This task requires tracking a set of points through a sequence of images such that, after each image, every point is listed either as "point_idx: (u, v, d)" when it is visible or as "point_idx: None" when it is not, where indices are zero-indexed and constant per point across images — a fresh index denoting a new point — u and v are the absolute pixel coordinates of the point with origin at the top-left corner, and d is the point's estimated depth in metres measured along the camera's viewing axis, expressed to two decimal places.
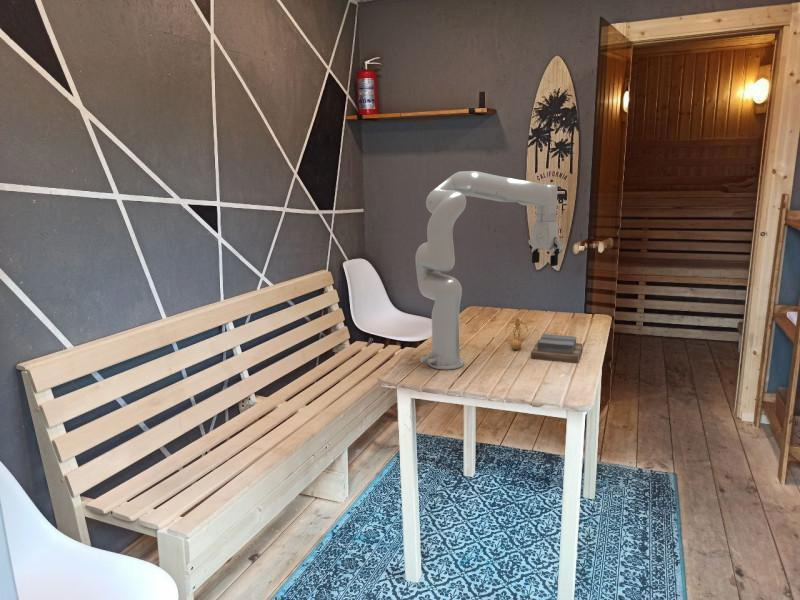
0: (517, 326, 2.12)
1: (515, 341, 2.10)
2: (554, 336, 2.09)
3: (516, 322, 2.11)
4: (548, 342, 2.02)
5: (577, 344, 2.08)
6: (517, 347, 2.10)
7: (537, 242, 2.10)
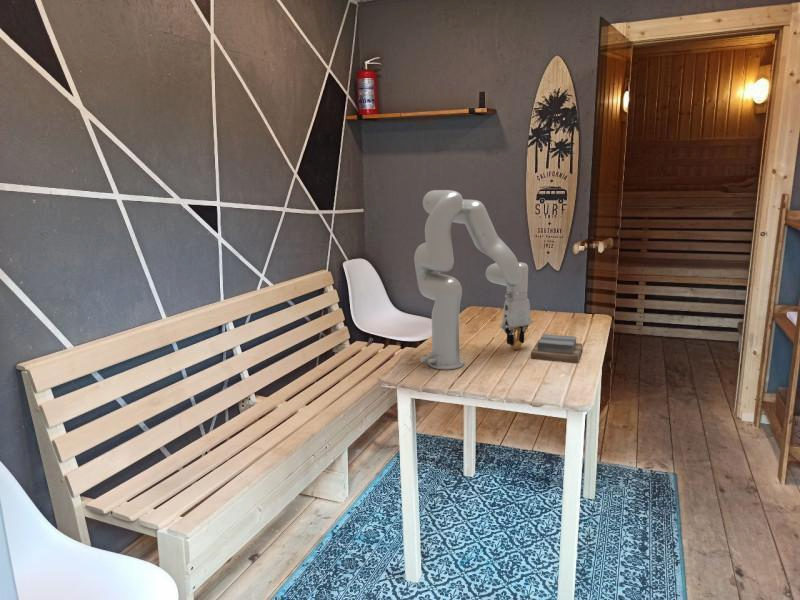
0: None
1: (515, 341, 2.10)
2: (554, 336, 2.09)
3: None
4: (548, 342, 2.02)
5: (577, 344, 2.08)
6: (517, 347, 2.10)
7: (518, 320, 2.07)
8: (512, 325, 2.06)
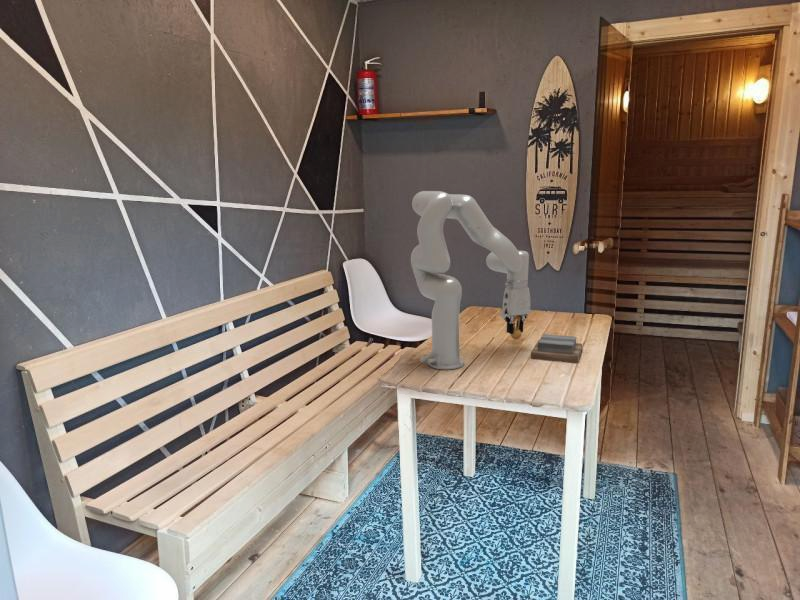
0: None
1: (515, 330, 2.09)
2: (554, 336, 2.09)
3: None
4: (548, 342, 2.02)
5: (577, 344, 2.08)
6: (517, 336, 2.09)
7: (518, 309, 2.06)
8: (512, 313, 2.05)
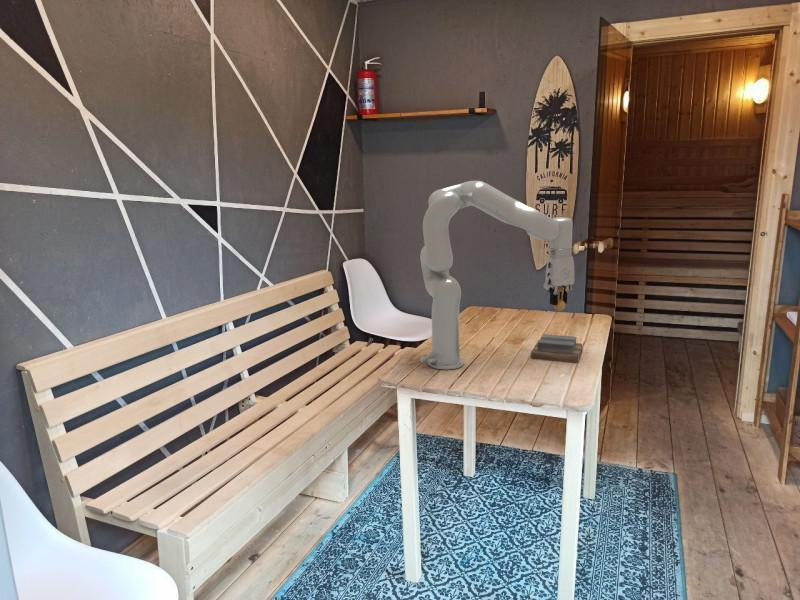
0: None
1: (559, 301, 2.00)
2: (554, 336, 2.09)
3: None
4: (548, 342, 2.02)
5: (577, 344, 2.08)
6: (561, 307, 1.99)
7: (562, 279, 1.97)
8: (556, 284, 1.96)
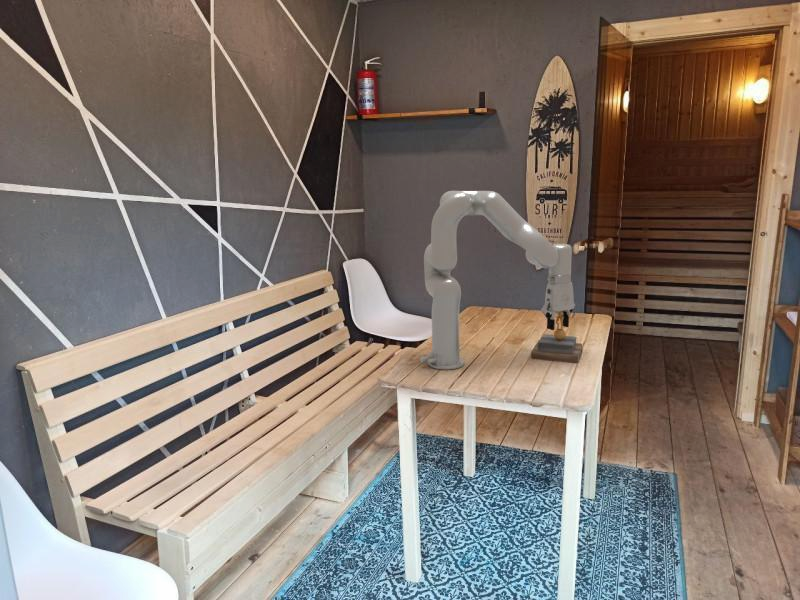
0: (559, 315, 2.04)
1: (558, 330, 2.02)
2: (554, 336, 2.09)
3: None
4: (548, 342, 2.02)
5: (577, 344, 2.08)
6: (560, 336, 2.02)
7: (562, 305, 1.99)
8: (555, 309, 1.98)
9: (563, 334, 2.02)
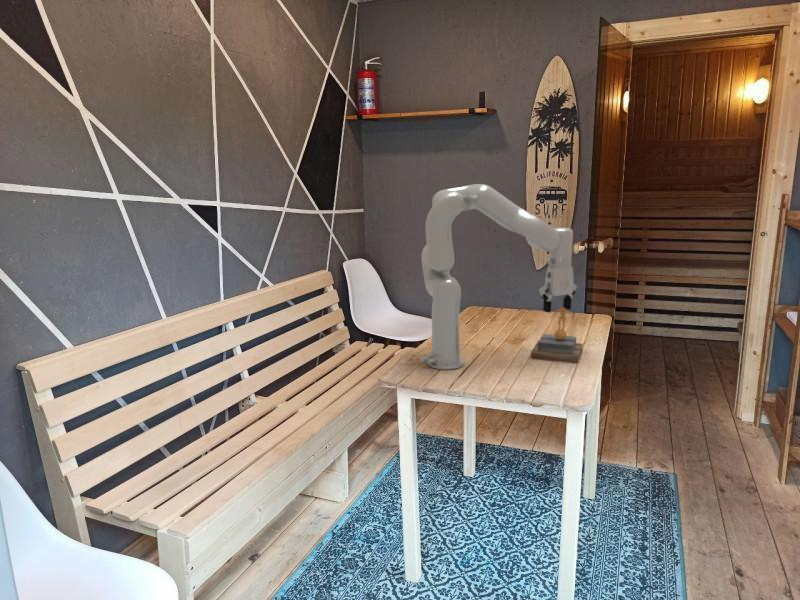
0: (562, 315, 2.03)
1: (559, 331, 2.02)
2: (554, 336, 2.09)
3: (561, 311, 2.03)
4: (548, 342, 2.02)
5: (577, 344, 2.08)
6: (561, 337, 2.02)
7: (561, 289, 1.97)
8: (555, 293, 1.96)
9: (564, 335, 2.02)
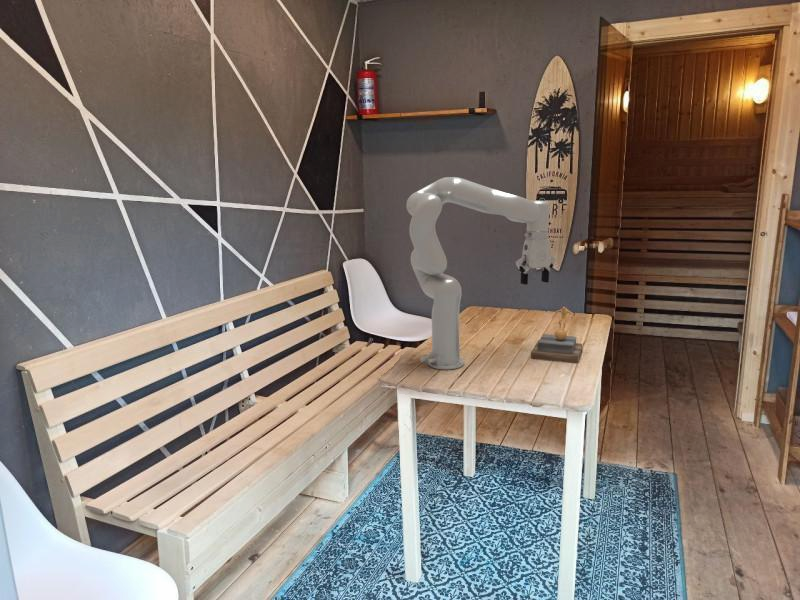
0: (563, 315, 2.04)
1: (559, 330, 2.02)
2: (554, 336, 2.09)
3: (562, 311, 2.04)
4: (548, 342, 2.02)
5: (577, 344, 2.08)
6: (561, 337, 2.02)
7: (538, 261, 2.00)
8: (531, 265, 1.99)
9: (564, 335, 2.02)
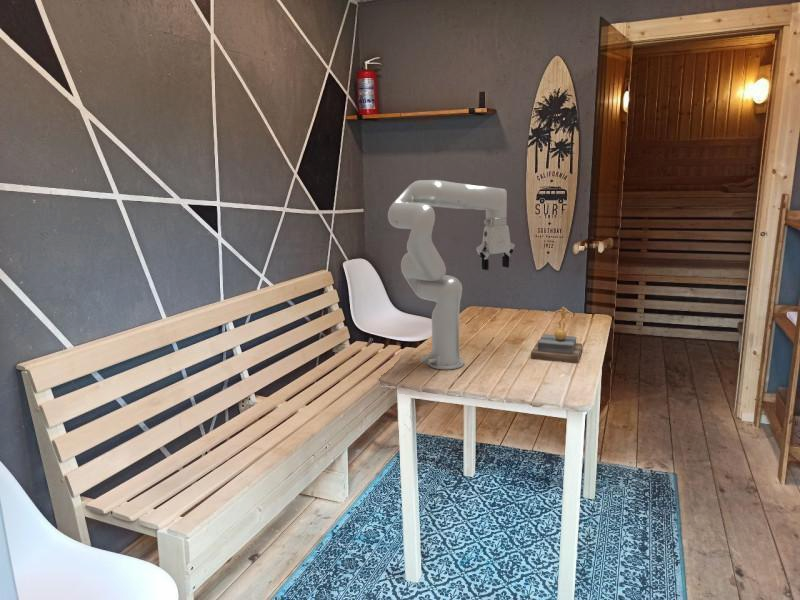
0: (563, 315, 2.03)
1: (559, 331, 2.02)
2: (554, 336, 2.09)
3: (562, 311, 2.03)
4: (548, 342, 2.02)
5: (577, 344, 2.08)
6: (561, 337, 2.02)
7: (498, 247, 2.07)
8: (491, 251, 2.06)
9: (564, 335, 2.02)
